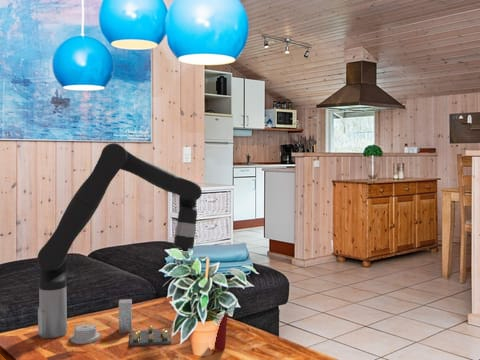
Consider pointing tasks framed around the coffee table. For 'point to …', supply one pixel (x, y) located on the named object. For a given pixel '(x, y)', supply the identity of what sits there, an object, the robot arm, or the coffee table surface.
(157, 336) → the pin plate
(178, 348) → the coffee table surface
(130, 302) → the block
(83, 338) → the mechanical component
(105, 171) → the robot arm
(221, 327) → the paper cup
